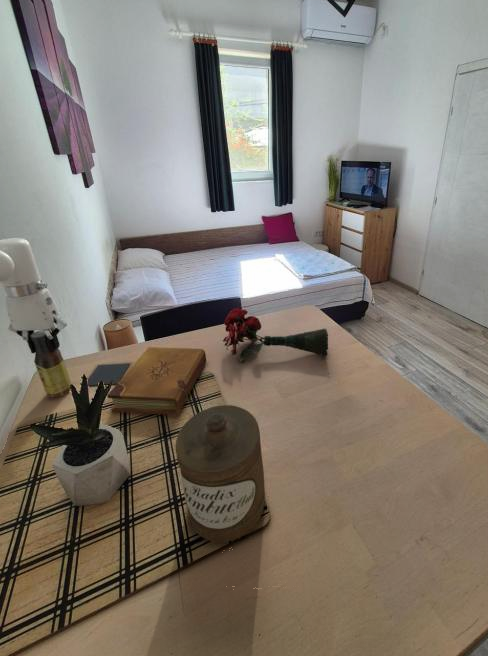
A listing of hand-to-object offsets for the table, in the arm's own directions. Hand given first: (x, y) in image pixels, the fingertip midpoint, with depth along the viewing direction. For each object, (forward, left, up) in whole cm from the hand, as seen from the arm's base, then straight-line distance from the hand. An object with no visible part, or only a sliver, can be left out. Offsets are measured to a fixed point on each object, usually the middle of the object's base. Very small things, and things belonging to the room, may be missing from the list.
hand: (45, 349), depth 88 cm
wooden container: (+51, -37, -15) cm, 65 cm away
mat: (+10, +7, -15) cm, 19 cm away
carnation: (+63, +15, -15) cm, 67 cm away
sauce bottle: (0, 0, -15) cm, 15 cm away
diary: (+29, 0, -15) cm, 33 cm away
